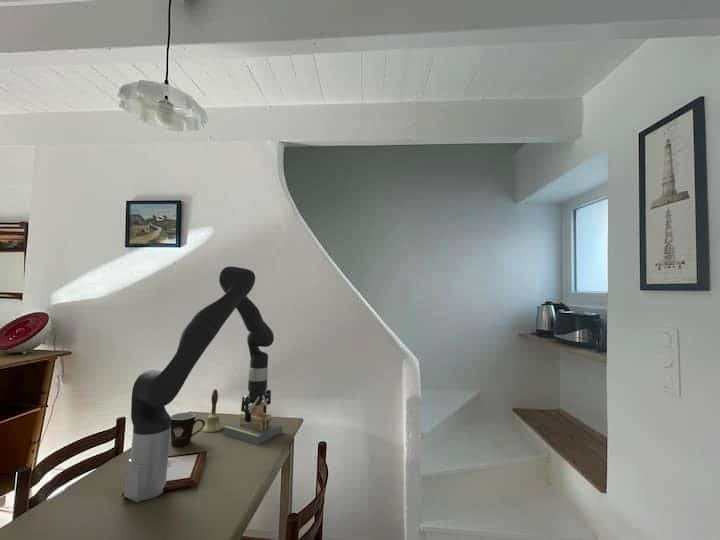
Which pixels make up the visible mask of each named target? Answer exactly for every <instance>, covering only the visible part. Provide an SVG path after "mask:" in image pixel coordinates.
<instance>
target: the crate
mask: <svg viewBox="0 0 720 540" xmlns="http://www.w3.org/2000/svg"><path fill="white" fill-rule="evenodd" d="M263 407H264V404H262V403H260V404H257V405H255V407H254V408H253V409H252V411H251V415H252V416H259V415H261V414H263ZM249 408H250V407H249Z"/></svg>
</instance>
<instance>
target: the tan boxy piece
mask: <svg viewBox="0 0 720 540" xmlns="http://www.w3.org/2000/svg"><path fill="white" fill-rule="evenodd" d="M239 418H240V419H239V421H240V427H244V428H247V429H251V430H254V431H258V432H261V431H263V430H266V429H267V428H270V427H271V423H272V414H270V413H267V412H266V413H263V414H261V415H259V416H252V415H251V422H249V423H248V422H246V421H245V412H242V413H240V416H239Z"/></svg>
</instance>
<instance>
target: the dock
mask: <svg viewBox="0 0 720 540" xmlns="http://www.w3.org/2000/svg"><path fill="white" fill-rule="evenodd" d="M279 433H281V434H282V433H283V425H281V424H277V423H273V422H271V427H270V428H267V429H266V430H263V431H261V432H258V431H254V430H251V429H247V428H244V427H240V420H239V421H236V422H234V423H231V424H229V425H225V426H223V436H225V437H230V438H233V439H236V440H239V441H244V442H246V443H250V444H253V445H256V446H258V445H260V444H262V443H264V442H266V441H268V440H270V438H271V439H273V438H274V436H275V437H277V436H279V435H280V434H279ZM278 434H279V435H278ZM276 435H277V436H276ZM272 437H273V438H272Z"/></svg>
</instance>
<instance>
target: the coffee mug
mask: <svg viewBox="0 0 720 540" xmlns="http://www.w3.org/2000/svg"><path fill="white" fill-rule="evenodd" d="M170 417H171V425H170V441H171V442H170V444H171V447H173V448H182V447H187V446H188V445H190V444H191V441H192V437H193V436H194V435H197V434H198V433H199V432H202V429H203V427H204V426H205V424H206V421H205V420H204V419H201V418H199V419H196V413H195V412H188V411H187V412H185V411H184V412H178V413H174V414H172V415H170ZM197 422H201V423H202V426H201V428H200V429H198V430H196V431H195V432H193V430H194V426H195V424H196V423H197Z"/></svg>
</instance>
